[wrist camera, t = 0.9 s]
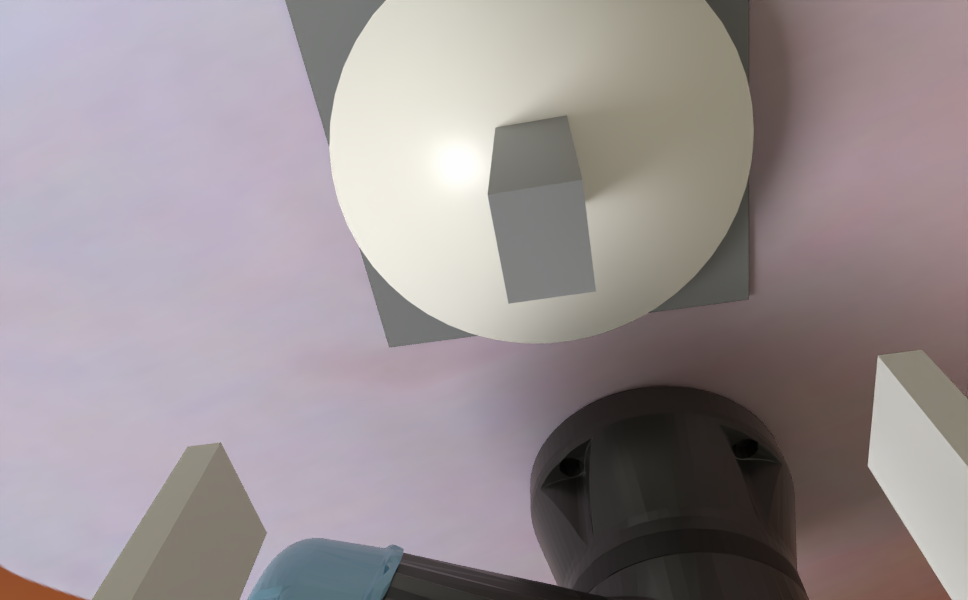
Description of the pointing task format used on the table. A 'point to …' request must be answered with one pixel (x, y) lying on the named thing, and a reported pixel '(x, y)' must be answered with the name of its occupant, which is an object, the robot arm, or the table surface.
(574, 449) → the robot arm
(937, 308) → the table surface
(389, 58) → the lid
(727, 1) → the mat
